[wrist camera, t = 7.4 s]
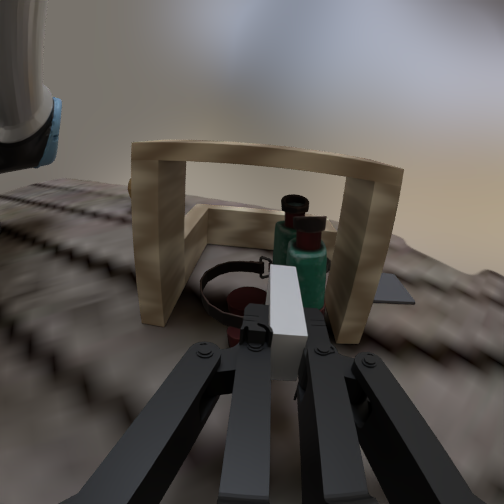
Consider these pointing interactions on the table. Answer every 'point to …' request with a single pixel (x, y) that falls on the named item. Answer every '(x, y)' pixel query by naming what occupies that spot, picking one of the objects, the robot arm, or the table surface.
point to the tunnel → (257, 224)
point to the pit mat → (392, 291)
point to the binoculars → (284, 253)
